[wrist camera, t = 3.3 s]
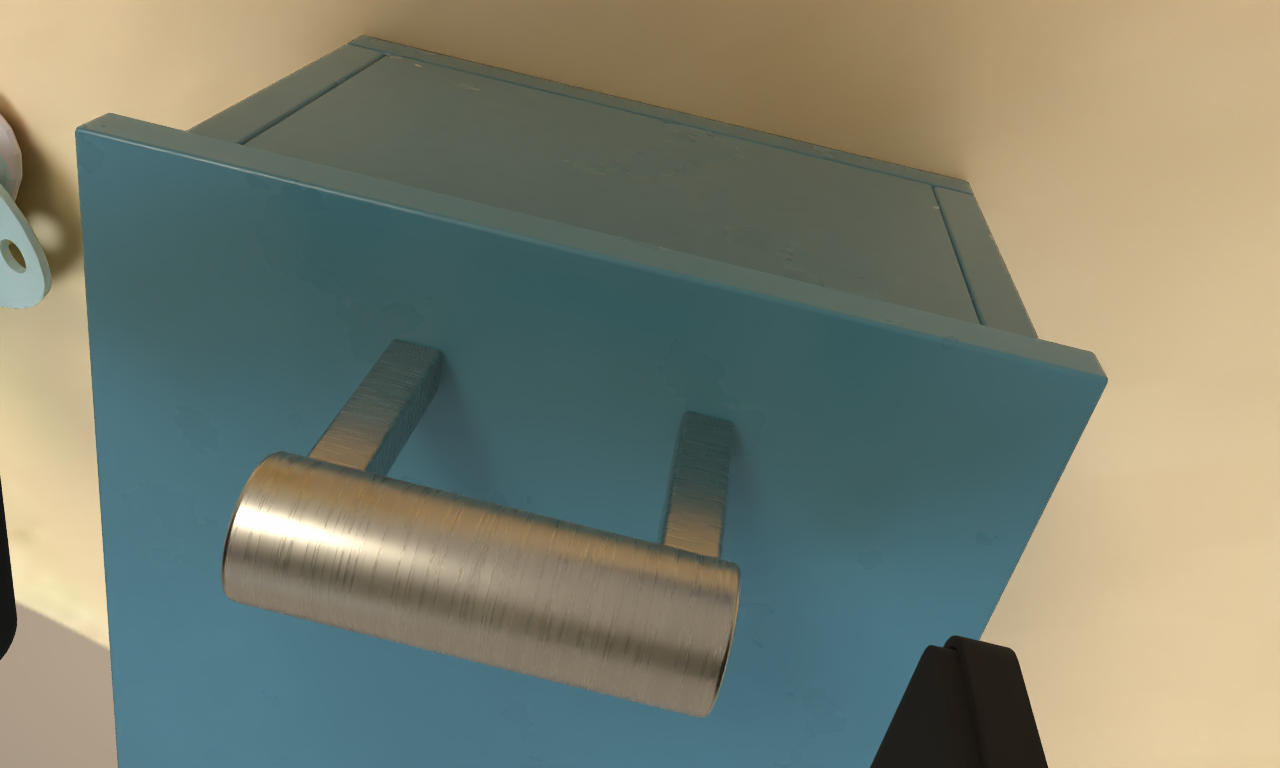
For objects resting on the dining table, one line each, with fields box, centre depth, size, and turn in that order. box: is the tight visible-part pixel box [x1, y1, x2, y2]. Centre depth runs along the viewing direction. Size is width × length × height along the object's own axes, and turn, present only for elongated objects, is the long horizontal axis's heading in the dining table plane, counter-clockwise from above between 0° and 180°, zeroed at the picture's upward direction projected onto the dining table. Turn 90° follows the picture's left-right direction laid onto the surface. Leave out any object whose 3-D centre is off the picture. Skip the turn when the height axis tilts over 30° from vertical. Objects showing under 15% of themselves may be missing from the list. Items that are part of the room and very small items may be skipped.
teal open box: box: [186, 35, 1039, 339], centre depth 22 cm, size 14×13×9 cm
